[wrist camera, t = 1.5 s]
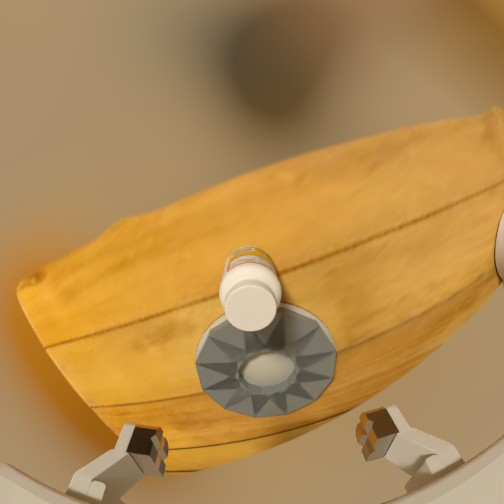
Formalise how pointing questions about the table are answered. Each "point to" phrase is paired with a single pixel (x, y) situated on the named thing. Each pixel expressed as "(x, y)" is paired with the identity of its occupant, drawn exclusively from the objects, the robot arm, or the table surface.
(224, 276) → the supplement bottle
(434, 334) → the table surface
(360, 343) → the table surface
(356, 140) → the table surface
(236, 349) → the grey faceted round plate
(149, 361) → the table surface
